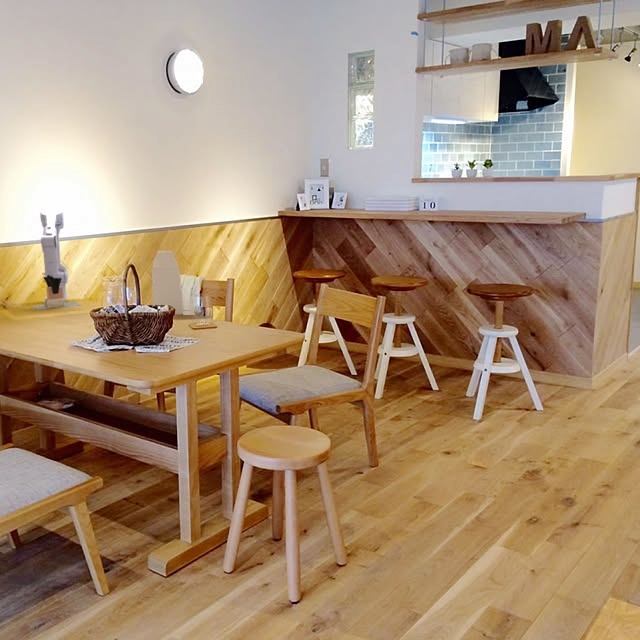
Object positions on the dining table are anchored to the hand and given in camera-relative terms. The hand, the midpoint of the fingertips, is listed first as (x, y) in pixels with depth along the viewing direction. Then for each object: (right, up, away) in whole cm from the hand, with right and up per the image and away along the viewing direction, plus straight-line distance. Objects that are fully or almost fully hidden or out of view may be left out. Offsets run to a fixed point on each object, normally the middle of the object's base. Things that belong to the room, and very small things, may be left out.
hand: (53, 292), depth 328 cm
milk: (+55, -9, -18) cm, 59 cm away
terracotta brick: (0, -2, +1) cm, 2 cm away
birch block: (0, -6, +1) cm, 6 cm away
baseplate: (+1, -7, +2) cm, 7 cm away
